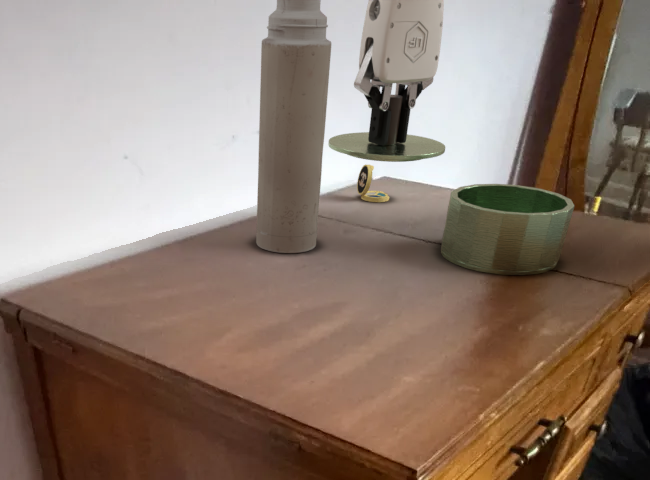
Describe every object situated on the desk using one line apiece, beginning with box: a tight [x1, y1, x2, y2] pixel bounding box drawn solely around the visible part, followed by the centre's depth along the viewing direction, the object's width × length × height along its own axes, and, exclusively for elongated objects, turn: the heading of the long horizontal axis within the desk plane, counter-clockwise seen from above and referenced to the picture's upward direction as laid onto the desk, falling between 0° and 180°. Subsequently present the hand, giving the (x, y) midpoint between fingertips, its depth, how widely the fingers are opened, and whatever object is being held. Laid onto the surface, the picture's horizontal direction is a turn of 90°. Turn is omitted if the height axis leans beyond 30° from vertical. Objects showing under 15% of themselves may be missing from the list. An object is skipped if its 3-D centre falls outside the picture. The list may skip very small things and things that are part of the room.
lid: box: [327, 94, 446, 163], centre depth 96 cm, size 16×16×7 cm
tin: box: [440, 183, 575, 276], centre depth 91 cm, size 15×15×7 cm
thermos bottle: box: [255, 0, 332, 254], centre depth 87 cm, size 8×8×28 cm
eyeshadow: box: [356, 164, 390, 203], centre depth 113 cm, size 4×5×5 cm
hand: (386, 141), depth 97 cm, fingers closed on lid, 2 cm apart
